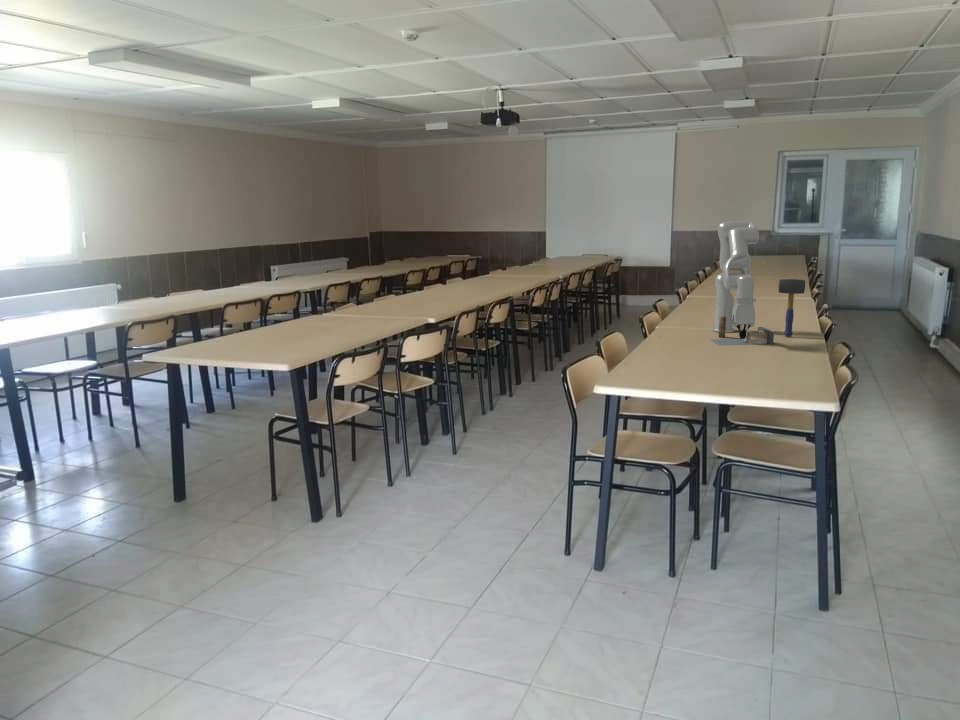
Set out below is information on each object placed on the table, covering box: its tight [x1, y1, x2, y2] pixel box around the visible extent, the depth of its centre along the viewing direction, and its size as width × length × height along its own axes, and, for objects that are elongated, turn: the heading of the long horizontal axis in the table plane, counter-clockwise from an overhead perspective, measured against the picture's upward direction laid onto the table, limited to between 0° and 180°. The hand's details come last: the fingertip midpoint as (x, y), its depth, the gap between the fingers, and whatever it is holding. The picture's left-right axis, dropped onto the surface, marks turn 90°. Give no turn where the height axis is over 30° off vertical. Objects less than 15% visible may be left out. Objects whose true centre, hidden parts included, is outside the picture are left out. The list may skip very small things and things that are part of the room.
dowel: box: [718, 317, 726, 339], centre depth 358 cm, size 3×3×12 cm
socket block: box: [744, 329, 768, 344], centre depth 345 cm, size 8×8×5 cm
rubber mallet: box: [778, 278, 806, 338], centre depth 361 cm, size 12×8×30 cm, turn 66°
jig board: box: [710, 326, 775, 346], centre depth 346 cm, size 15×26×8 cm, turn 90°
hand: (742, 338), depth 346 cm, fingers closed
